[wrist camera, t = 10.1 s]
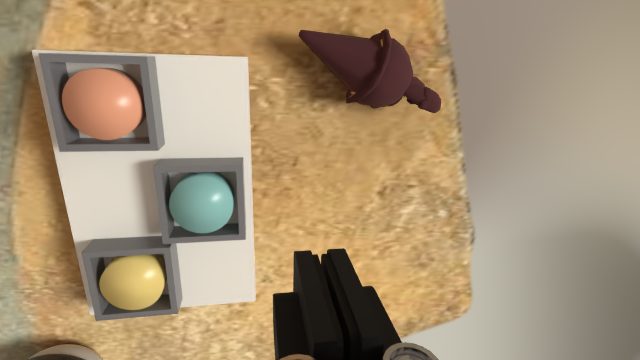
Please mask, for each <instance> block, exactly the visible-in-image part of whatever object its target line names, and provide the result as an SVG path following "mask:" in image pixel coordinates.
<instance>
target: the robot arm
mask: <svg viewBox="0 0 640 360" xmlns="http://www.w3.org/2000/svg"><path fill="white" fill-rule="evenodd" d="M273 326H274V345H275V360H438V358H436V356H435V355H434V354H433V353H432V352H431V351H429V350H427V349H425V348H424V347H422V346H419V345H417V344H413V343H406V342H405V343H402V342H401V340H400V338H399V336H398V334H397V332H396V330H395V328H394V326H393V324H392V322H391V320H390V318H389V316H388V314H387V312H386V311H385V309H384V307H383V305H382V303H381V301H380V299H379V297H378V295H377V293H376V291H375V289H374V288H373V287H372V286H364V287H362V285H361V283H360V280H359V278H358V276H357V274H356V272H355V270H354V268H353V265H352V263H351V261H350V259H349V257H348V255H347V253H346V250H345V249H344V248H343V249H328V250H327V254H322V256H321V264H320V261H319V257H318V255H317V254H316V255H312V252H311V251H294V281H293V292H289V293H276V294H273Z"/></svg>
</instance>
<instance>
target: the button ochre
mask: <svg viewBox="0 0 640 360" xmlns="http://www.w3.org/2000/svg"><path fill="white" fill-rule="evenodd" d="M166 281H167V273H166V265H165V260H164V259H163V257H162V256H161V255H159V254H148V255H131V256H115V257H114V258H113V259H112V261H111V262H110V263H109V265H108V266H107V268H106V269H105V271H104V272H103V274H102V275H101V278H100V283H99V286H100V291H101V293H102V295H103V296H104V298H105V299H106V300H107V301H108V302H109V303H111V304H112V305H114V306H116V307H118V308H121V309H126V310H139V309H144V308H146V307H149V306H151V305H152V304H154V303H155V302H156V301H157V300H158V299H159V297H160V296H161V294H162V291H163V289H164V286H165V284H166Z"/></svg>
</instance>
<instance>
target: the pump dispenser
mask: <svg viewBox="0 0 640 360" xmlns="http://www.w3.org/2000/svg"><path fill="white" fill-rule="evenodd" d="M27 360H103V359H102V358H101V357H100V356H99V355H98V354H97V353H96V352H95V351H93V350H91V349H89V348H87V347H84V346H81V345H75V344H63V345H57V346H53V347H49V348H47V349H44V350H42V351H40V352H38V353H36V354H34V355H33V356H31V357H30V358H28V359H27Z"/></svg>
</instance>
